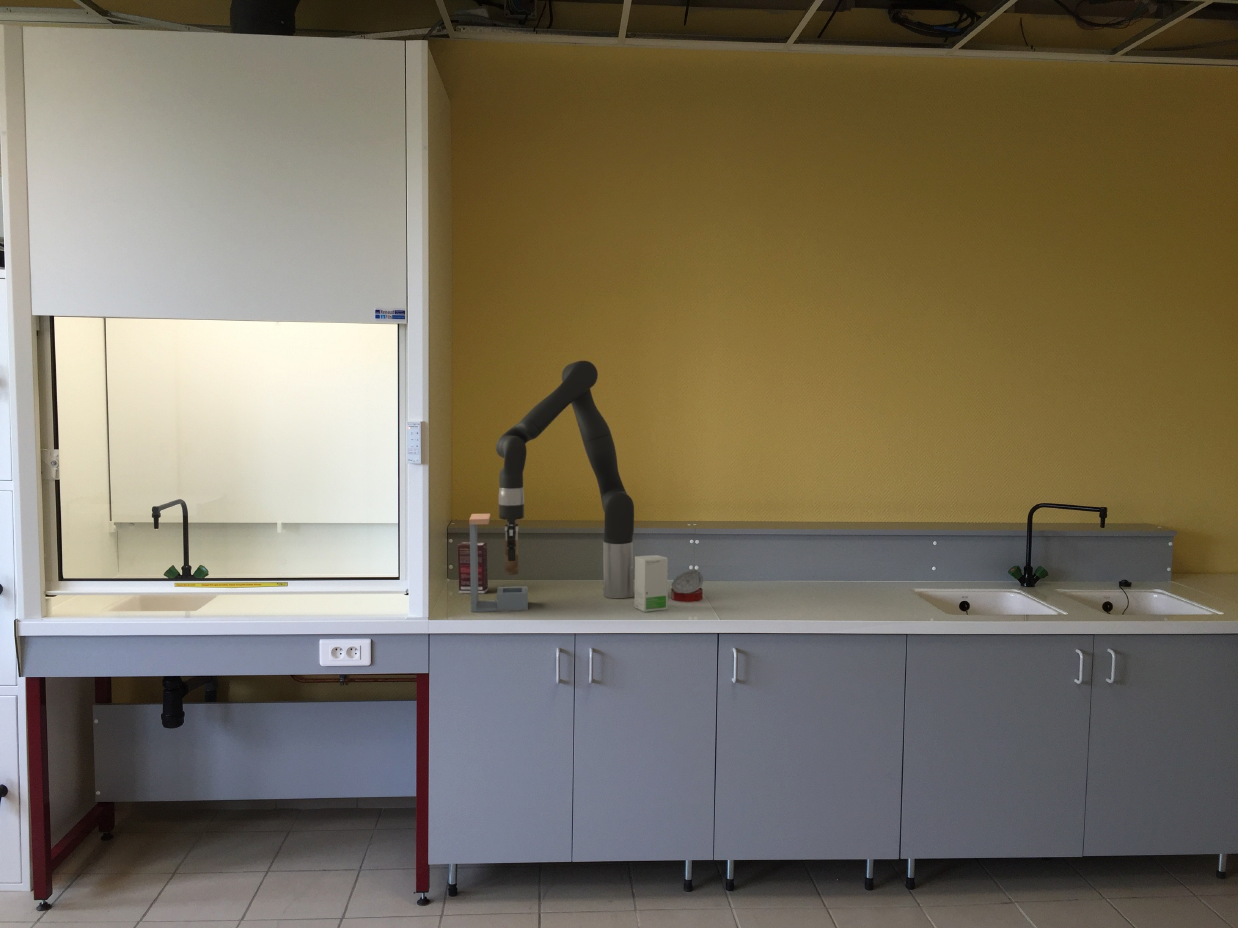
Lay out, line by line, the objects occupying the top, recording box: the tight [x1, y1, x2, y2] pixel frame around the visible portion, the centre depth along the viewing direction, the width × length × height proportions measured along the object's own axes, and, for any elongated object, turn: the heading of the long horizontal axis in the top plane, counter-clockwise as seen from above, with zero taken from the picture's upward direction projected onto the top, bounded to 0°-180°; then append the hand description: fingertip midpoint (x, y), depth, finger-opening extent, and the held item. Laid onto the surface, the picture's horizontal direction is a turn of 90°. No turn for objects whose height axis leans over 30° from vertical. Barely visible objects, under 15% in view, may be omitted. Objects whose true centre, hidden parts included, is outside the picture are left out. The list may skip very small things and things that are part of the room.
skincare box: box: [634, 554, 669, 613], centre depth 244 cm, size 8×7×16 cm
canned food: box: [670, 569, 704, 603], centre depth 257 cm, size 11×10×10 cm
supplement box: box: [457, 541, 489, 594], centre depth 265 cm, size 9×5×16 cm, turn 84°
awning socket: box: [468, 513, 529, 613], centre depth 246 cm, size 16×11×28 cm, turn 96°
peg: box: [504, 532, 519, 576], centre depth 246 cm, size 4×4×12 cm
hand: (511, 559), depth 246 cm, fingers closed on peg, 4 cm apart
